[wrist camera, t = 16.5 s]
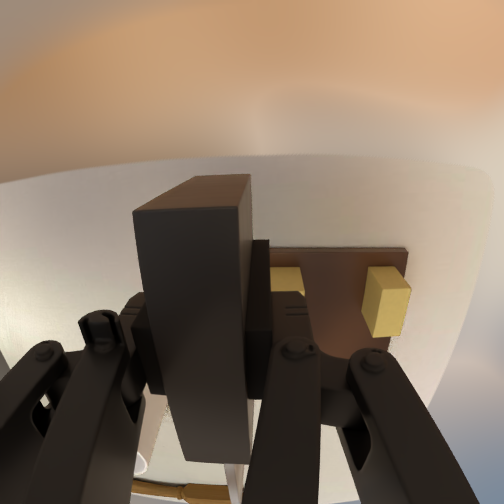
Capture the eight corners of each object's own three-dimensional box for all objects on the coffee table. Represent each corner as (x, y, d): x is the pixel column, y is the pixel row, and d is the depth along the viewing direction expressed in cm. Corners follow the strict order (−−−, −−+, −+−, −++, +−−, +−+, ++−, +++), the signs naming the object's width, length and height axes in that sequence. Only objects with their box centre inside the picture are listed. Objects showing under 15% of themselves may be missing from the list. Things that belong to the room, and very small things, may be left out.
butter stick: (217, 313, 28) (211, 340, 25) (213, 266, 27) (205, 290, 23) (297, 313, 28) (301, 341, 24) (299, 266, 26) (305, 290, 23)
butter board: (209, 358, 32) (207, 364, 31) (197, 248, 27) (194, 252, 26) (382, 354, 31) (384, 360, 30) (404, 247, 26) (408, 252, 26)
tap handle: (92, 480, 43) (256, 500, 40) (97, 468, 45) (257, 485, 43) (99, 488, 44) (258, 507, 41) (103, 476, 46) (258, 492, 44)
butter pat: (360, 311, 28) (372, 338, 24) (368, 266, 26) (382, 289, 22) (386, 310, 28) (399, 336, 24) (394, 266, 26) (412, 288, 22)
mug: (81, 383, 35) (46, 444, 25) (124, 341, 32) (84, 415, 22) (132, 421, 37) (109, 484, 27) (185, 387, 34) (165, 465, 24)
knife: (194, 176, 13) (131, 210, 7) (251, 173, 13) (238, 206, 7) (224, 451, 19) (213, 536, 13) (258, 452, 19) (256, 538, 13)
